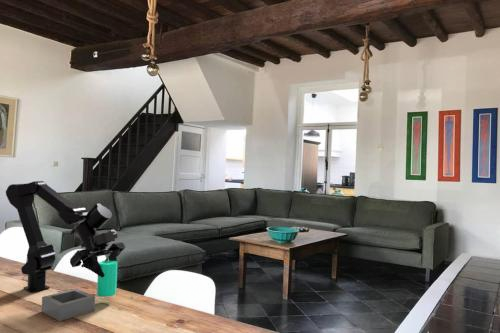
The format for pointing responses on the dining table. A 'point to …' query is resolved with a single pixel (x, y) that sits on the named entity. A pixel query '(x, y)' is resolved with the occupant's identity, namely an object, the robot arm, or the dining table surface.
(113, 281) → the candle
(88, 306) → the box
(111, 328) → the dining table surface
